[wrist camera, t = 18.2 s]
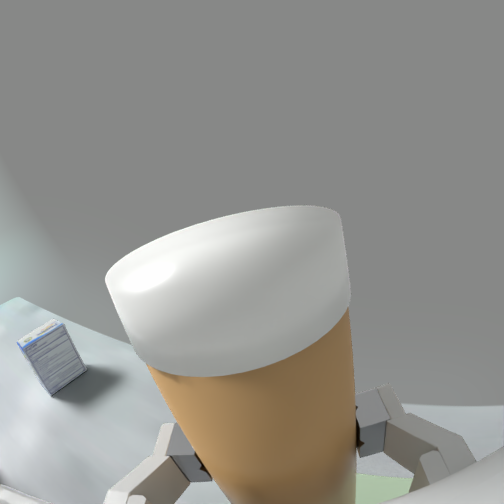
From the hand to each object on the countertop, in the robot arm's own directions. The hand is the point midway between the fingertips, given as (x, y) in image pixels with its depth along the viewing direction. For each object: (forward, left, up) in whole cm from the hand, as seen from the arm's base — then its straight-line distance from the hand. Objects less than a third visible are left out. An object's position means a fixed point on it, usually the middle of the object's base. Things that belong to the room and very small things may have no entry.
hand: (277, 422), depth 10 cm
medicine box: (+4, +41, -15) cm, 44 cm away
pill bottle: (-1, -1, -6) cm, 7 cm away
